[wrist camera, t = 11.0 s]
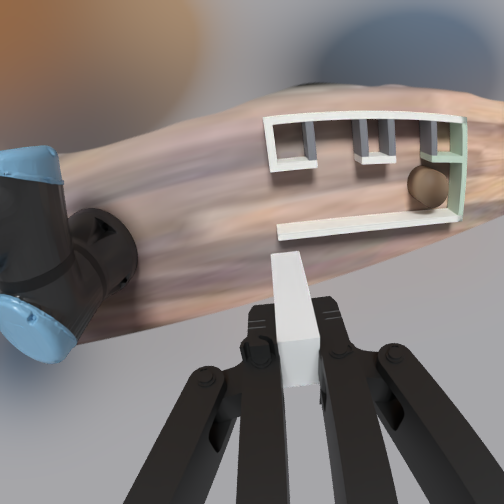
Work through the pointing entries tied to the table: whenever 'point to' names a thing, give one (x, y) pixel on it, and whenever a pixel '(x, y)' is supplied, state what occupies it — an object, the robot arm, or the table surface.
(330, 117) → the box
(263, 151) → the table surface
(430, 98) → the table surface
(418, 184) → the brown rounded cylinder
